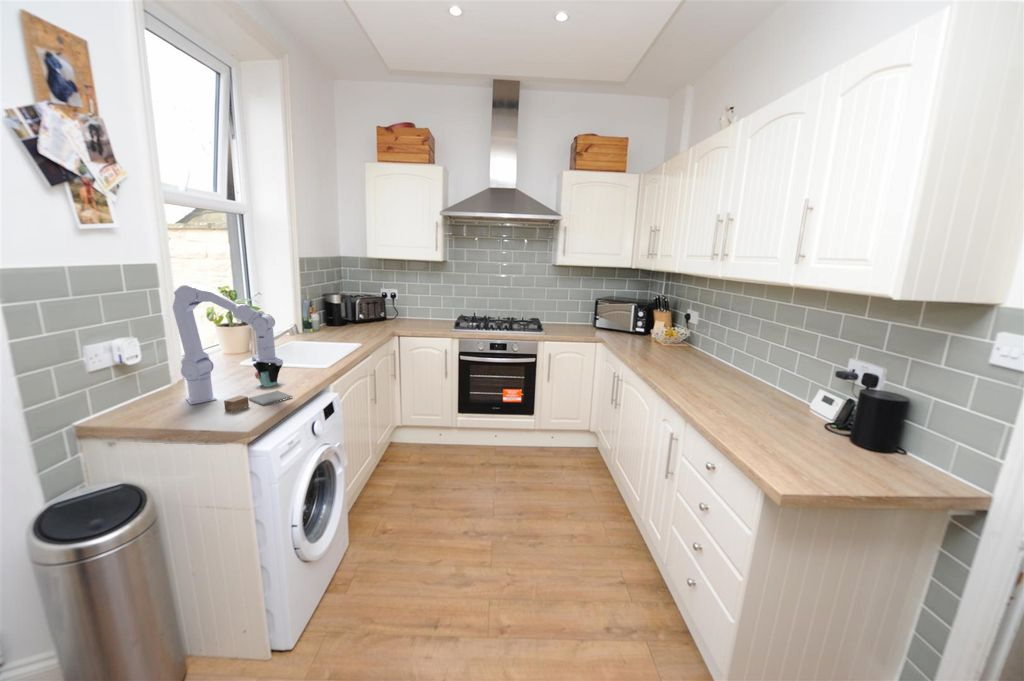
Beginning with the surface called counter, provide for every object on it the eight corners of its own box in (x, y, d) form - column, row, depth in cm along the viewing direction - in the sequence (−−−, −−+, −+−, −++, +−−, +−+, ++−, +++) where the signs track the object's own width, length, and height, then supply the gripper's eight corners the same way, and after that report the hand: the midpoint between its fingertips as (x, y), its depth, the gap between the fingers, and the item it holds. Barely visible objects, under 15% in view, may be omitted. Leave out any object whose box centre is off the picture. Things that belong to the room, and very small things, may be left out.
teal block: (261, 384, 156) (260, 372, 155) (272, 382, 159) (271, 370, 158) (266, 386, 154) (265, 374, 153) (277, 384, 157) (276, 371, 156)
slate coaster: (248, 399, 156) (248, 397, 156) (277, 392, 165) (277, 390, 165) (263, 405, 150) (263, 403, 150) (292, 398, 159) (292, 396, 159)
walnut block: (225, 411, 145) (223, 400, 144) (240, 405, 150) (239, 395, 150) (233, 412, 144) (232, 401, 143) (248, 407, 149) (247, 396, 148)
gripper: (242, 346, 153) (246, 381, 155) (269, 350, 147) (272, 386, 150) (260, 343, 159) (263, 376, 162) (286, 347, 154) (289, 381, 156)
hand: (269, 381), depth 156 cm, fingers closed on teal block, 5 cm apart
